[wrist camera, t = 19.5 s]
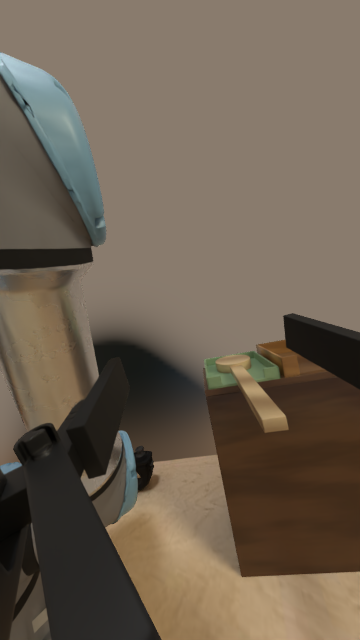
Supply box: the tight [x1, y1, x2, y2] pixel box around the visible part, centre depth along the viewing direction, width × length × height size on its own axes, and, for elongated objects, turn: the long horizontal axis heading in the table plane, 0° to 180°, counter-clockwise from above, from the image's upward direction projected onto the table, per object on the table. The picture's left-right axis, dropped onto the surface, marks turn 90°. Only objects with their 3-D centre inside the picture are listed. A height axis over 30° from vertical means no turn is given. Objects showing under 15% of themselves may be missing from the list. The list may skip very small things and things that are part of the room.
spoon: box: [215, 355, 288, 433], centre depth 27 cm, size 23×6×2 cm, turn 175°
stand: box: [203, 368, 360, 577], centre depth 33 cm, size 12×23×29 cm, turn 85°
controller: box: [134, 446, 154, 491], centre depth 48 cm, size 4×12×10 cm, turn 80°
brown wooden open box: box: [256, 340, 327, 378], centre depth 32 cm, size 12×11×3 cm
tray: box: [204, 351, 281, 390], centre depth 33 cm, size 12×11×2 cm
